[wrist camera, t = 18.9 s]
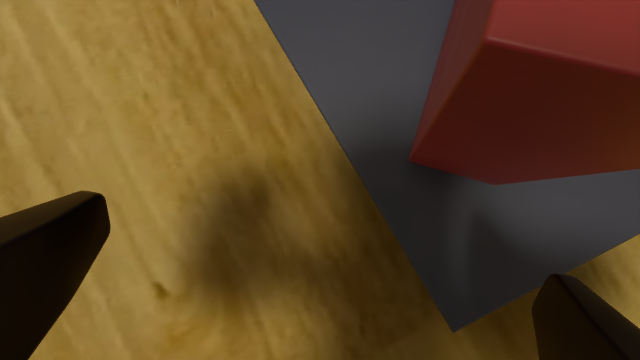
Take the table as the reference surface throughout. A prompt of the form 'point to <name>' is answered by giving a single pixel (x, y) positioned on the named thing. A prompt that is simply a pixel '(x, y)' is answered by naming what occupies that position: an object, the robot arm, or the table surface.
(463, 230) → the dark gray flat block
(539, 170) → the small book
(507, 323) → the table surface
